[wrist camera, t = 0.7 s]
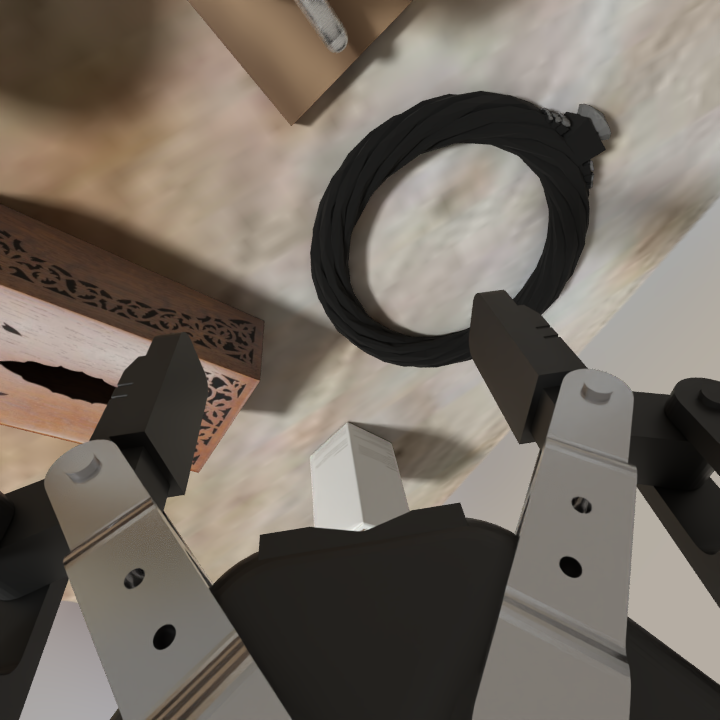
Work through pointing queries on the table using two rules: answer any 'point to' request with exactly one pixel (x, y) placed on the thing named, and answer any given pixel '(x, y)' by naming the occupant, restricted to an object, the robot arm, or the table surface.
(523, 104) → the cable lock
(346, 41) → the end link
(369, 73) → the table surface
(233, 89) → the table surface
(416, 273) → the table surface
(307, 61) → the board
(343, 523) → the supplement box
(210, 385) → the tissue box cover
